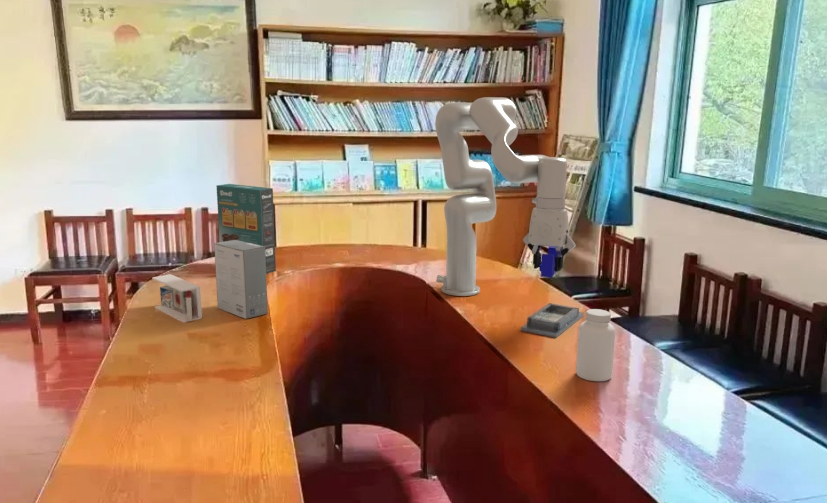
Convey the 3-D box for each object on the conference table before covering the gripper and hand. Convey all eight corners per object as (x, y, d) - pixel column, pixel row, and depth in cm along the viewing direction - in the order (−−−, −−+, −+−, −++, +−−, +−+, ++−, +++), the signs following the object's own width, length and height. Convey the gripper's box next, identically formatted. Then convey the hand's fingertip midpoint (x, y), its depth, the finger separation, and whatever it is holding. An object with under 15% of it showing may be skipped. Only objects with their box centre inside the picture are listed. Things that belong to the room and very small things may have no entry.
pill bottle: (612, 371, 155) (617, 309, 152) (610, 384, 148) (615, 319, 144) (577, 366, 157) (581, 305, 154) (573, 379, 150) (578, 315, 147)
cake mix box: (275, 271, 243) (272, 188, 236) (263, 274, 238) (260, 190, 231) (233, 262, 254) (229, 183, 248) (220, 266, 249) (216, 185, 243)
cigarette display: (154, 307, 199) (152, 277, 197) (172, 304, 203) (170, 274, 201) (185, 324, 185) (183, 291, 183) (204, 319, 189) (202, 287, 187)
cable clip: (543, 266, 191) (544, 245, 190) (559, 267, 190) (560, 247, 189) (535, 276, 180) (536, 254, 179) (552, 277, 179) (553, 255, 178)
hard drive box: (269, 314, 194) (266, 246, 190) (246, 320, 189) (242, 250, 184) (238, 303, 204) (235, 238, 200) (216, 308, 199) (212, 242, 195)
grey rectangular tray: (520, 330, 182) (521, 320, 181) (550, 310, 200) (551, 300, 199) (556, 337, 177) (556, 326, 176) (583, 316, 195) (584, 306, 194)
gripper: (515, 202, 182) (513, 267, 186) (576, 208, 173) (572, 276, 177) (527, 199, 188) (524, 262, 192) (586, 204, 179) (582, 270, 183)
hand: (547, 268), depth 185 cm, fingers closed on cable clip, 5 cm apart
